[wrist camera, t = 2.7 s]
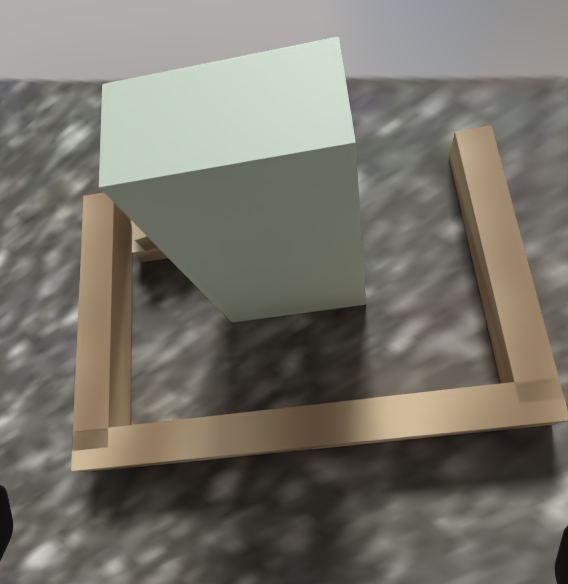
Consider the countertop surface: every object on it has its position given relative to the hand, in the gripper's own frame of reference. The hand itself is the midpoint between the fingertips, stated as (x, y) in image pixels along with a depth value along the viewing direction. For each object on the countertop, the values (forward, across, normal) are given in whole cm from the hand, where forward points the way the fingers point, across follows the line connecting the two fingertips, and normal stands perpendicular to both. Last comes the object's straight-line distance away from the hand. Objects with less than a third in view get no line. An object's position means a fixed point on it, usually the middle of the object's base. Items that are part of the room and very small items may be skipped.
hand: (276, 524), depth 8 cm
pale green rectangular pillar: (+16, 0, +1) cm, 16 cm away
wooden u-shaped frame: (+15, 0, +2) cm, 15 cm away
